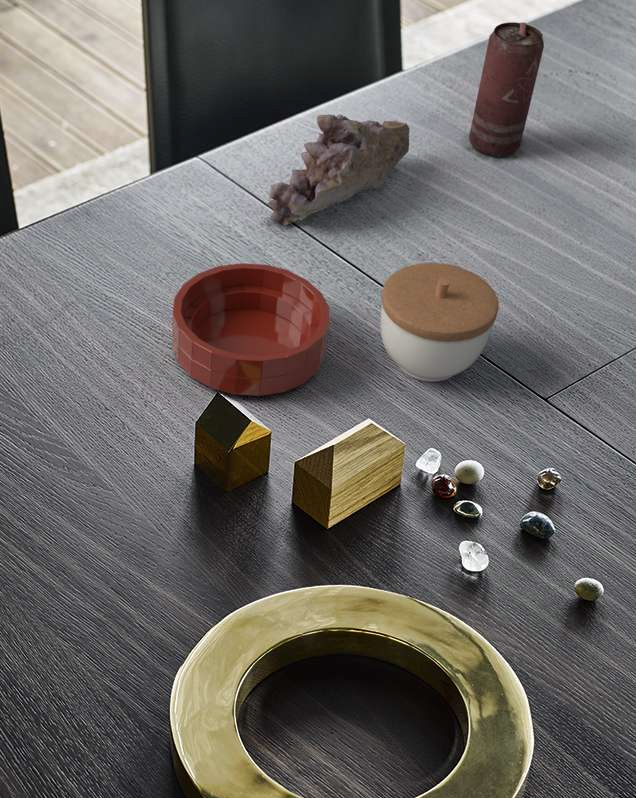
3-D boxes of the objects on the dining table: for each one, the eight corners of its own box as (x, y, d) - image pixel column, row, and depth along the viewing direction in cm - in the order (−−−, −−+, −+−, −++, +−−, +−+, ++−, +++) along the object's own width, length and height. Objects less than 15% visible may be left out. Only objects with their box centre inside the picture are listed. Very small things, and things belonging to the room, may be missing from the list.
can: (519, 134, 151) (546, 22, 141) (518, 161, 147) (545, 48, 137) (469, 127, 152) (492, 15, 142) (466, 154, 148) (490, 41, 137)
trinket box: (417, 412, 116) (434, 332, 109) (350, 346, 122) (361, 267, 115) (505, 375, 120) (527, 296, 113) (436, 314, 126) (452, 235, 119)
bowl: (342, 326, 124) (348, 285, 120) (297, 419, 114) (301, 377, 111) (204, 290, 127) (206, 249, 123) (148, 377, 117) (148, 335, 114)
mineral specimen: (347, 211, 128) (302, 121, 126) (276, 246, 135) (232, 162, 133) (431, 157, 143) (391, 77, 141) (363, 192, 150) (324, 116, 148)
